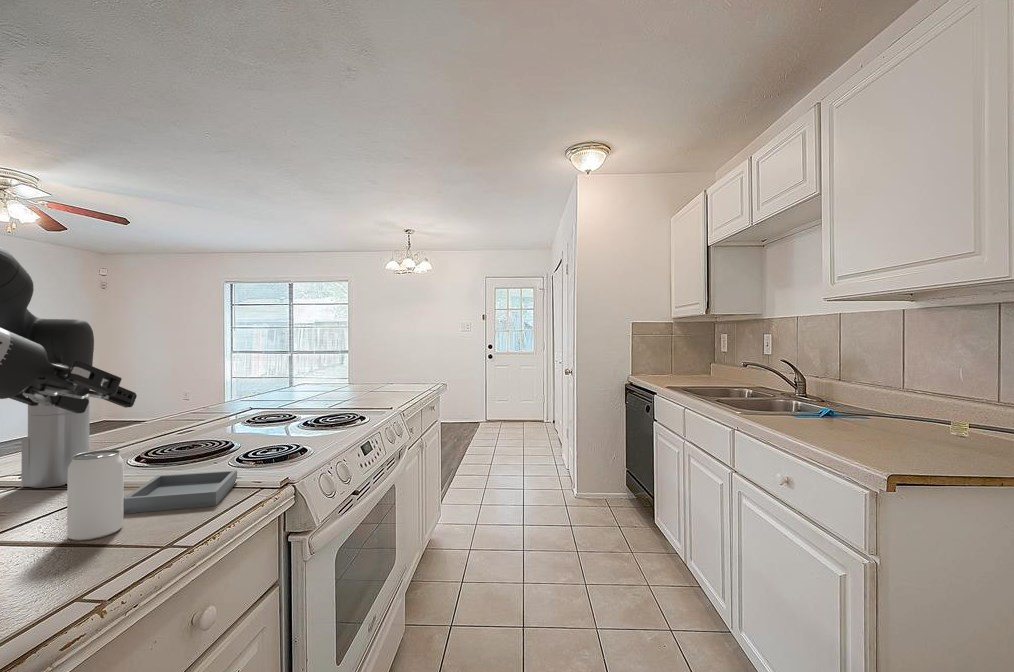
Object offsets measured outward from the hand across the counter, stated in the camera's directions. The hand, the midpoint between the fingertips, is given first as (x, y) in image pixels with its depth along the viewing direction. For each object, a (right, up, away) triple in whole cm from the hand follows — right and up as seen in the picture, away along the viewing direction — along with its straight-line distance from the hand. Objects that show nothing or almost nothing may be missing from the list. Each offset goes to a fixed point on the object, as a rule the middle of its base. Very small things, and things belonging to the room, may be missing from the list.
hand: (108, 404), depth 69 cm
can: (-5, -20, +3) cm, 21 cm away
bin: (-2, -20, +20) cm, 28 cm away
